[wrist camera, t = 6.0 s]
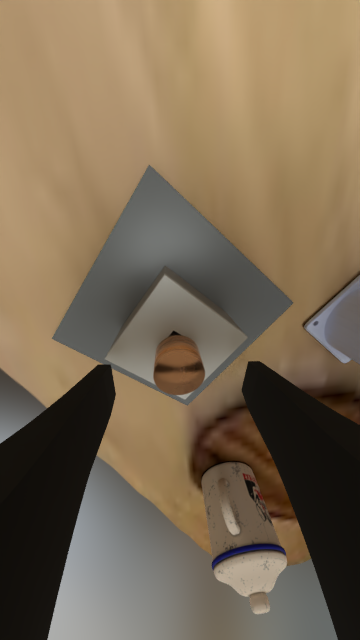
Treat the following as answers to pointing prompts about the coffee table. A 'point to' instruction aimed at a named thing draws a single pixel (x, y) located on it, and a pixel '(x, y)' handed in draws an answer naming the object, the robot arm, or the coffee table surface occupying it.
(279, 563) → the teacup with lid
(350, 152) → the coffee table surface
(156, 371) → the plunger
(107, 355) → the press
